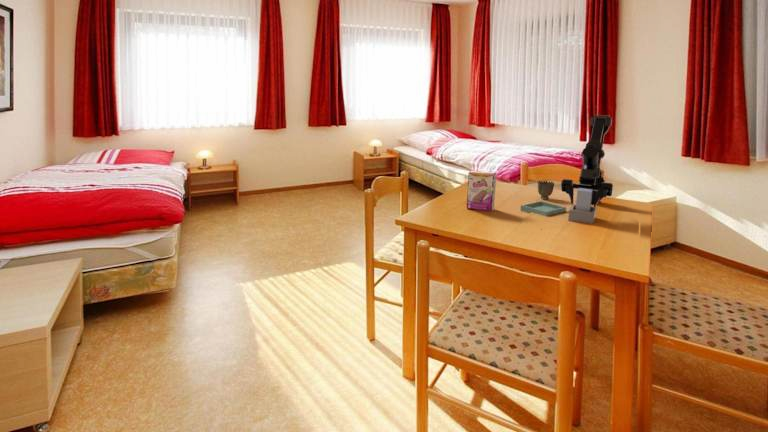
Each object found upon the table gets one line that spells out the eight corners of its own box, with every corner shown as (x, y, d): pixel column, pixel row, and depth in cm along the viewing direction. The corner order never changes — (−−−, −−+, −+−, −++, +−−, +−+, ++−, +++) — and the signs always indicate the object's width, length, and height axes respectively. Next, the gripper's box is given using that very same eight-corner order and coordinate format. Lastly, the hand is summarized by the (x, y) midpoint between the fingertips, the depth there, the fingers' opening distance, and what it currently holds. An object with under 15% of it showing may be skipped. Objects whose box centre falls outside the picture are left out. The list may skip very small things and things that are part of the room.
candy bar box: (466, 209, 203) (467, 172, 198) (469, 206, 207) (470, 170, 203) (491, 211, 198) (494, 174, 194) (494, 209, 203) (496, 172, 198)
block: (575, 216, 188) (579, 187, 185) (589, 218, 186) (592, 189, 182) (574, 219, 184) (577, 190, 181) (587, 221, 182) (591, 191, 178)
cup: (553, 201, 215) (555, 184, 213) (537, 200, 217) (538, 183, 215) (551, 197, 222) (553, 180, 220) (535, 196, 224) (536, 180, 222)
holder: (571, 216, 191) (572, 204, 190) (594, 219, 187) (596, 207, 185) (568, 222, 183) (569, 209, 182) (592, 225, 179) (594, 212, 178)
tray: (540, 206, 207) (540, 201, 206) (565, 212, 196) (566, 207, 196) (520, 210, 200) (520, 205, 199) (545, 217, 190) (546, 212, 189)
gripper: (564, 159, 186) (557, 191, 180) (615, 162, 178) (610, 196, 171) (565, 175, 195) (558, 206, 189) (614, 179, 186) (609, 212, 180)
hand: (583, 205), depth 182 cm, fingers open, 8 cm apart
